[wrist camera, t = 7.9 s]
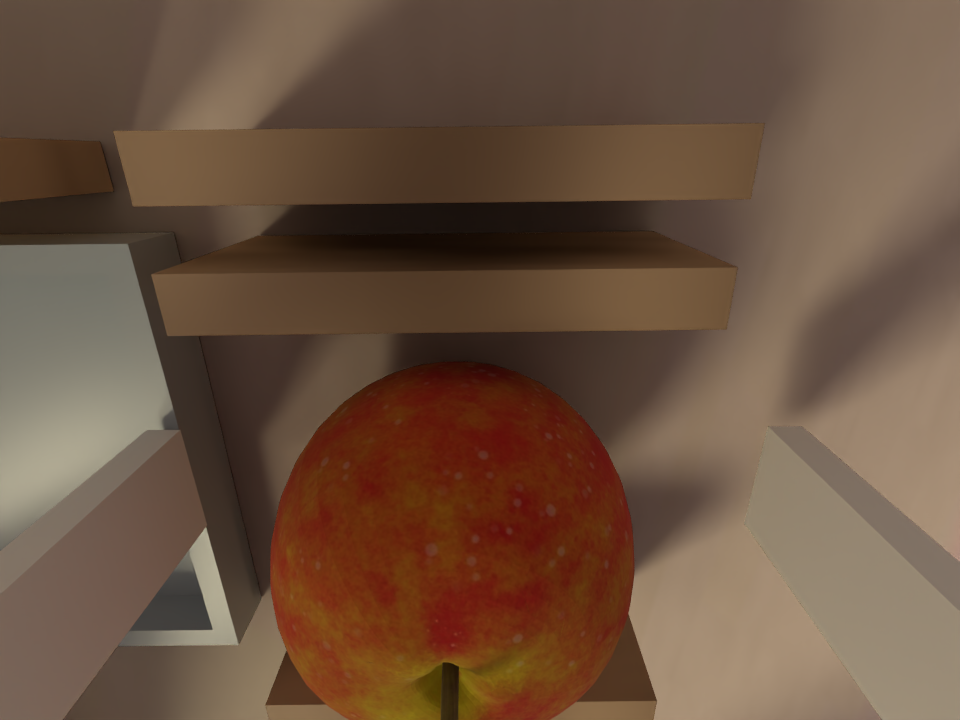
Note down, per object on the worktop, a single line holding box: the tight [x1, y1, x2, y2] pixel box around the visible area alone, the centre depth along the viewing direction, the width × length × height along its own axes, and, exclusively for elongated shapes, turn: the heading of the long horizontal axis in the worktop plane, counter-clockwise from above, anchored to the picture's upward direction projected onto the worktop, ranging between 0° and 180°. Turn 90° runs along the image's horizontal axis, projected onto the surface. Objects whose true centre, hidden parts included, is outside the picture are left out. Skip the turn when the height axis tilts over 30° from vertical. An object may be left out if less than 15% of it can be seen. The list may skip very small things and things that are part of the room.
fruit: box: [270, 361, 634, 720], centre depth 10 cm, size 7×7×8 cm
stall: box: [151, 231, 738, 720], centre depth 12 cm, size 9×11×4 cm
